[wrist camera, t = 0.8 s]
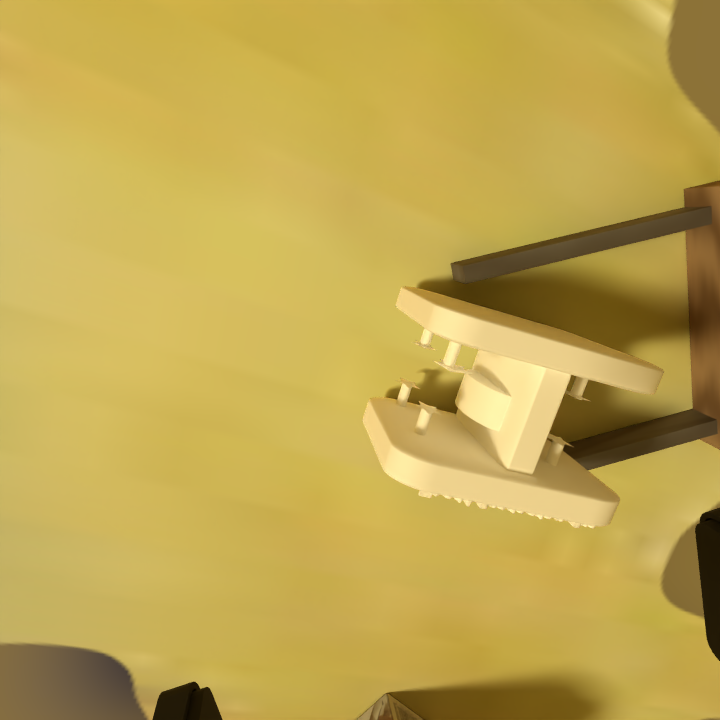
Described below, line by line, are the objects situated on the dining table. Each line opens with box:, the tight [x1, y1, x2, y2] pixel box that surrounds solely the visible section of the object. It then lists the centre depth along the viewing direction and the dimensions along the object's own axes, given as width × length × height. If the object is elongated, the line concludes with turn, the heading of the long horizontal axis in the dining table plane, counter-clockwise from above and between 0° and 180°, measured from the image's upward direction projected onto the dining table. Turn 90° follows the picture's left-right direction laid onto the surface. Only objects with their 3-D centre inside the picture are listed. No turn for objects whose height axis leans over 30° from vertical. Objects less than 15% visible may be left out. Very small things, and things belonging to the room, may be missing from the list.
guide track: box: [451, 181, 720, 470], centre depth 38 cm, size 20×21×6 cm
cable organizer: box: [363, 286, 664, 528], centre depth 34 cm, size 15×11×12 cm
